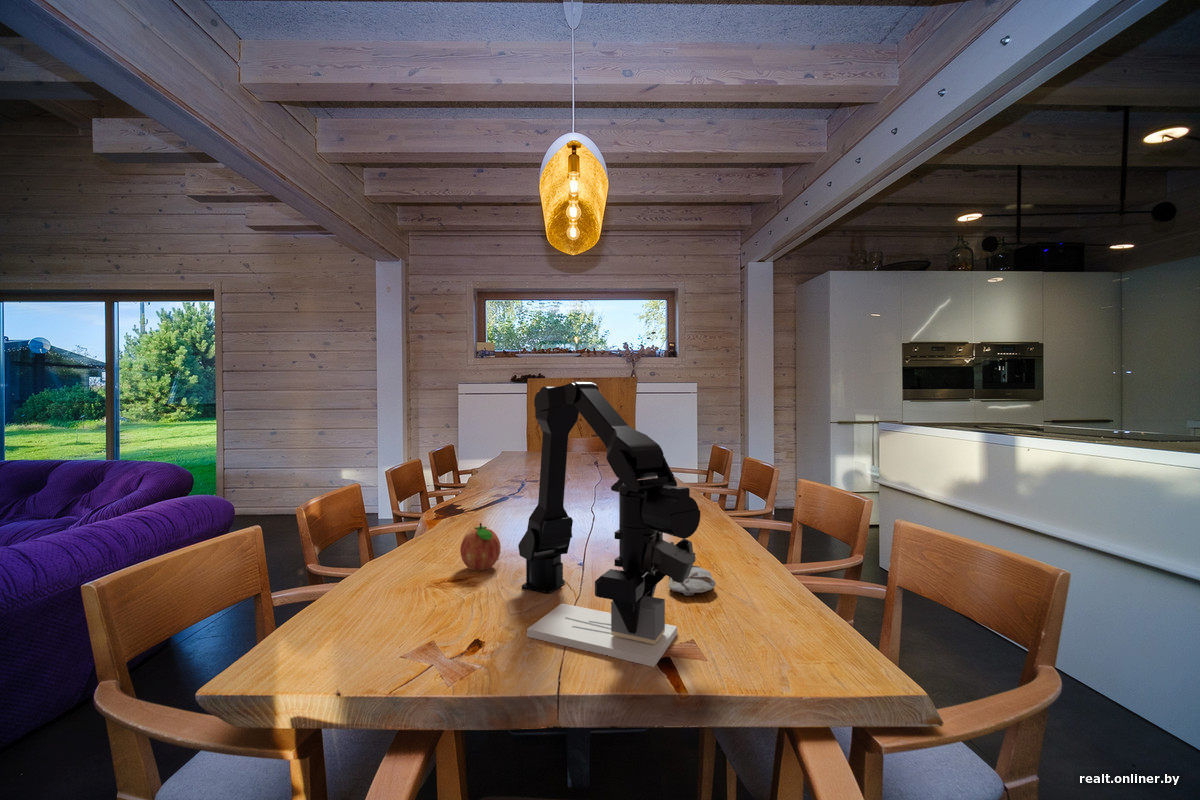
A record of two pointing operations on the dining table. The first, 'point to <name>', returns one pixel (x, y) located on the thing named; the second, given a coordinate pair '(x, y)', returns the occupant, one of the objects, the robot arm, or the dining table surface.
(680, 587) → the stone
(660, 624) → the block
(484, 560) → the fruit
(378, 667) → the dining table surface
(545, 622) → the board
